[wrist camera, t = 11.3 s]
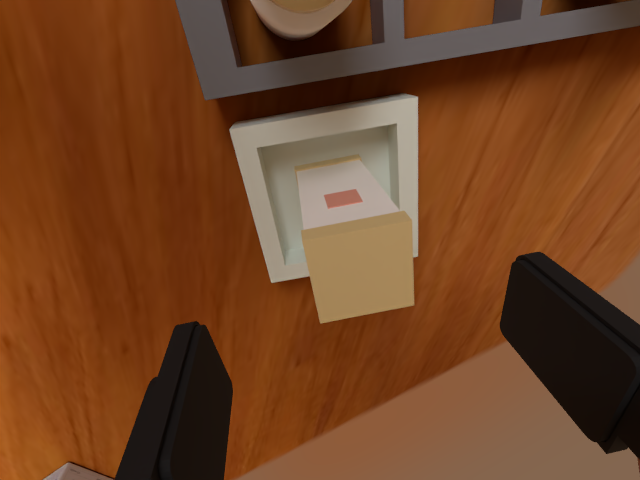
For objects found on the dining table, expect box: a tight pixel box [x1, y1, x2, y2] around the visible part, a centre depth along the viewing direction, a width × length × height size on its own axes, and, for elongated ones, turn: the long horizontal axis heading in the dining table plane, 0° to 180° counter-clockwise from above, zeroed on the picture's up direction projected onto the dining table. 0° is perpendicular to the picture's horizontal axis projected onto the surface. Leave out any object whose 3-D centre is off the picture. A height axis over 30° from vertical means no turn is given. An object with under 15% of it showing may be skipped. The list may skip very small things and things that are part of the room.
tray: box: [229, 93, 418, 283], centre depth 21 cm, size 10×10×2 cm
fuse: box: [294, 154, 414, 323], centre depth 18 cm, size 4×4×10 cm
